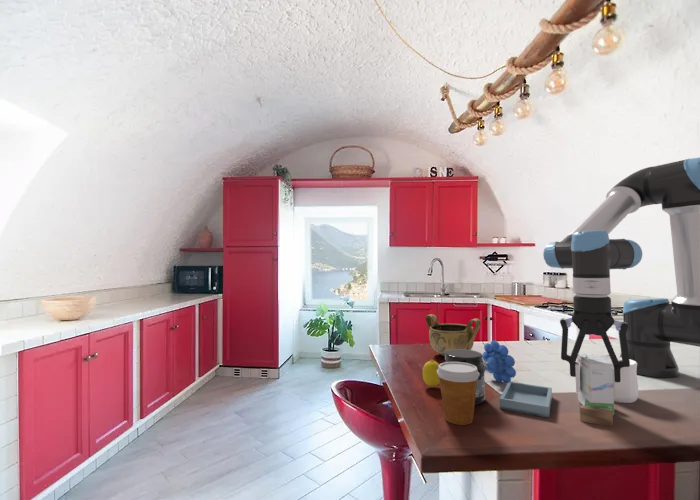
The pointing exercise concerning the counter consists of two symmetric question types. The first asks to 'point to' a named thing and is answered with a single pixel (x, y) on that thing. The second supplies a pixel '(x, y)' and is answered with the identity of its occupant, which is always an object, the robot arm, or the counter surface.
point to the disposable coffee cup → (458, 391)
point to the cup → (626, 382)
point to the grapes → (499, 362)
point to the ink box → (595, 382)
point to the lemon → (431, 373)
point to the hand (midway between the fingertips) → (595, 392)
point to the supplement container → (475, 360)
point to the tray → (527, 399)
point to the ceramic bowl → (451, 335)
